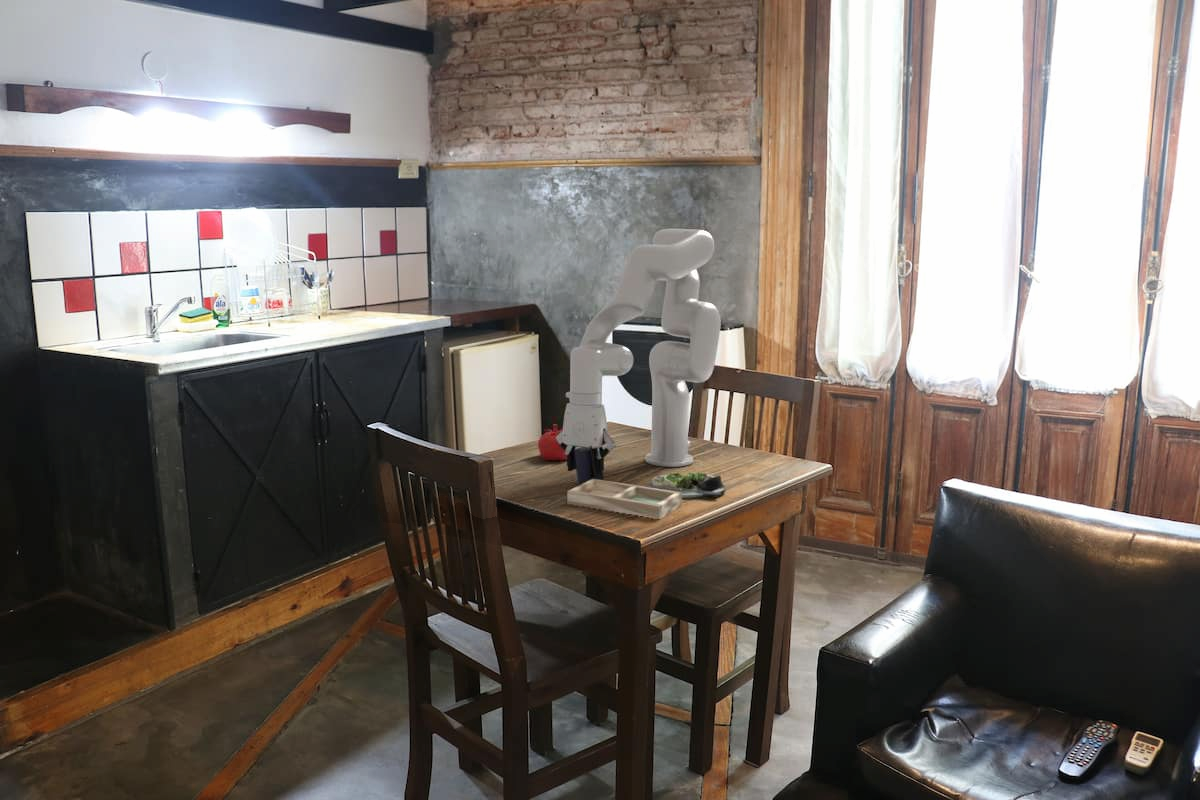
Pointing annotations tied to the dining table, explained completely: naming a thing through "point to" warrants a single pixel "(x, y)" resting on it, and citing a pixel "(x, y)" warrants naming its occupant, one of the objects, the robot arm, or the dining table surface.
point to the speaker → (586, 465)
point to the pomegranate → (551, 446)
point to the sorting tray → (625, 498)
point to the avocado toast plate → (690, 484)
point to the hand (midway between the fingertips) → (585, 471)
